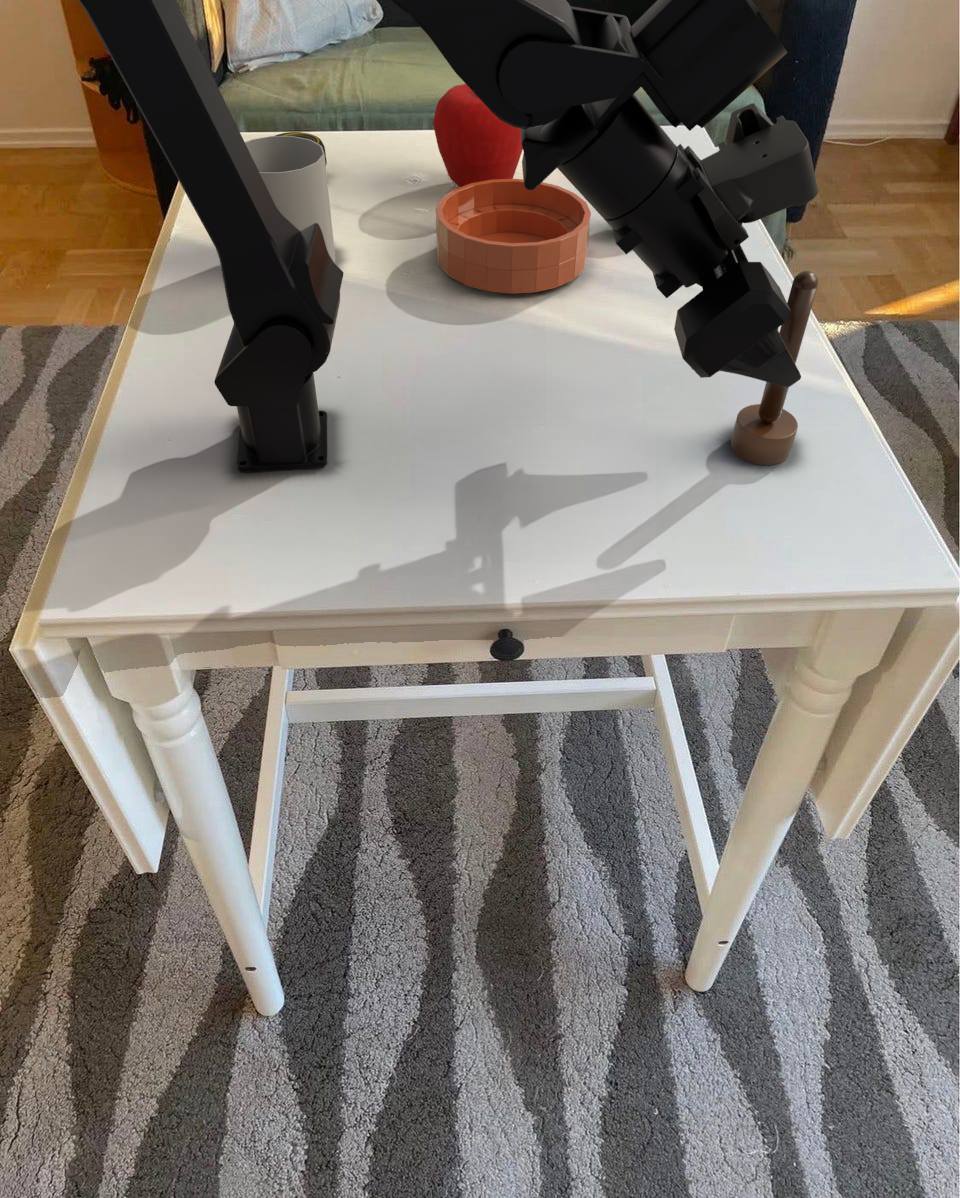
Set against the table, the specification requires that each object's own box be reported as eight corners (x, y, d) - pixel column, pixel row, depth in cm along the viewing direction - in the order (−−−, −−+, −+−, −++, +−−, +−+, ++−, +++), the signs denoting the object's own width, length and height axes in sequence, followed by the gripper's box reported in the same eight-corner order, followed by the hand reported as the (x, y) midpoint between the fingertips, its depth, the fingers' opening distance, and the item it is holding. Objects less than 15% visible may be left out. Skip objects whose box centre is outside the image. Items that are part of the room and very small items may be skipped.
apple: (528, 172, 106) (533, 65, 98) (522, 209, 100) (527, 98, 92) (441, 168, 107) (439, 61, 99) (428, 204, 100) (425, 93, 92)
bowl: (598, 294, 87) (604, 242, 84) (444, 302, 86) (444, 249, 83) (570, 225, 97) (574, 176, 94) (431, 231, 96) (430, 181, 92)
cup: (318, 287, 88) (305, 177, 81) (234, 277, 89) (213, 168, 82) (345, 246, 93) (335, 140, 86) (266, 237, 95) (249, 132, 87)
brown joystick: (798, 463, 70) (854, 287, 60) (740, 467, 70) (787, 290, 60) (778, 428, 73) (828, 254, 63) (723, 431, 73) (764, 257, 63)
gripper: (792, 143, 47) (936, 342, 55) (721, 28, 60) (846, 203, 68) (615, 292, 52) (770, 453, 60) (585, 157, 65) (715, 304, 73)
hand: (778, 344), depth 65 cm, fingers open, 9 cm apart
